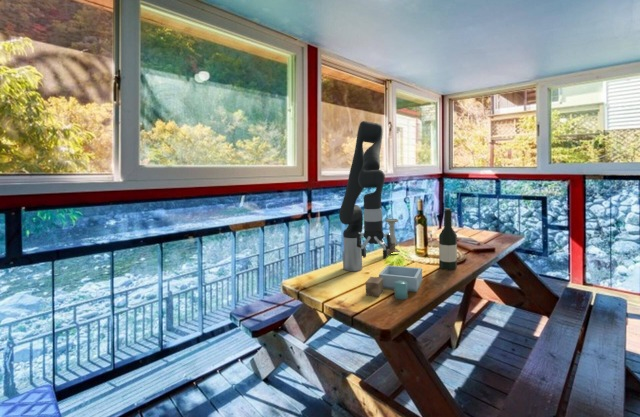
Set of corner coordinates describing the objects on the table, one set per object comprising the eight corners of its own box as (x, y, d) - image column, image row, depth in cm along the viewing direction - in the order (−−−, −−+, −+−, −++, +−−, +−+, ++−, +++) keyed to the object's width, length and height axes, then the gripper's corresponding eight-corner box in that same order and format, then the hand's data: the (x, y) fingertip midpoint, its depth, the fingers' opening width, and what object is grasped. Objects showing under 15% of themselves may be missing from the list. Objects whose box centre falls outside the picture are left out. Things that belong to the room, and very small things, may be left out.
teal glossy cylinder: (393, 298, 136) (393, 284, 135) (396, 293, 140) (396, 280, 139) (406, 300, 134) (405, 285, 133) (408, 295, 138) (408, 281, 137)
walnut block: (365, 296, 140) (365, 282, 139) (370, 290, 146) (370, 276, 145) (378, 297, 137) (378, 283, 137) (383, 291, 144) (383, 278, 143)
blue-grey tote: (379, 287, 148) (379, 274, 147) (387, 277, 160) (387, 265, 160) (416, 292, 141) (416, 278, 140) (422, 281, 153) (422, 268, 153)
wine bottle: (458, 270, 165) (458, 209, 161) (440, 270, 167) (440, 210, 163) (455, 265, 173) (455, 207, 169) (438, 265, 175) (437, 207, 171)
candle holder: (388, 255, 197) (387, 221, 195) (382, 252, 206) (381, 219, 203) (402, 254, 199) (401, 220, 196) (396, 250, 207) (395, 218, 205)
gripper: (353, 220, 137) (355, 259, 139) (388, 221, 131) (389, 261, 133) (359, 217, 144) (360, 254, 146) (392, 218, 138) (393, 256, 140)
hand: (374, 257), depth 140 cm, fingers open, 8 cm apart
